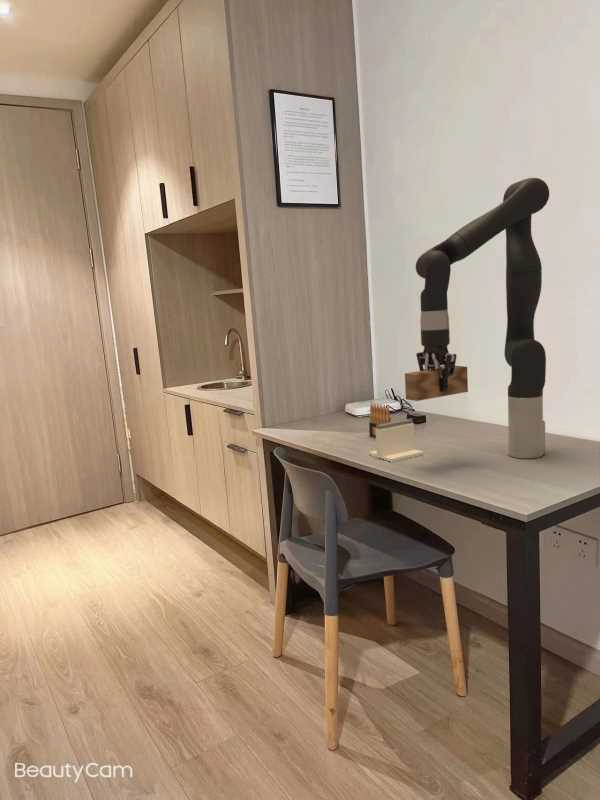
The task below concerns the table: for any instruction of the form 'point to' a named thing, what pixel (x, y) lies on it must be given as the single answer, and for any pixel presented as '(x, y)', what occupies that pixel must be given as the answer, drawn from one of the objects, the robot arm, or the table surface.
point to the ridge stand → (395, 441)
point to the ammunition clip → (378, 417)
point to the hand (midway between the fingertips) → (437, 390)
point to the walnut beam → (434, 384)
